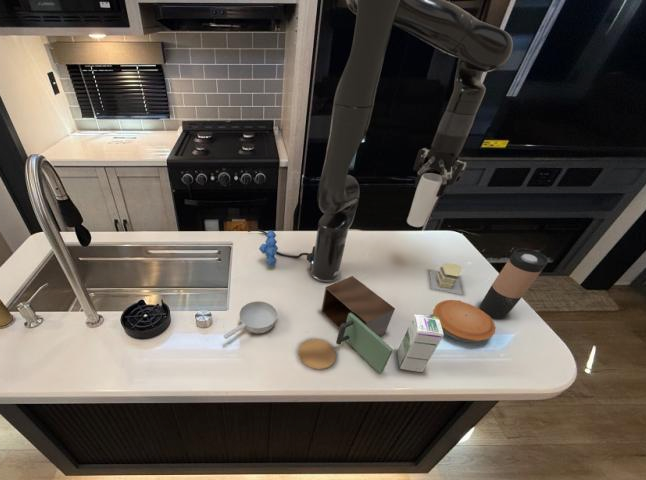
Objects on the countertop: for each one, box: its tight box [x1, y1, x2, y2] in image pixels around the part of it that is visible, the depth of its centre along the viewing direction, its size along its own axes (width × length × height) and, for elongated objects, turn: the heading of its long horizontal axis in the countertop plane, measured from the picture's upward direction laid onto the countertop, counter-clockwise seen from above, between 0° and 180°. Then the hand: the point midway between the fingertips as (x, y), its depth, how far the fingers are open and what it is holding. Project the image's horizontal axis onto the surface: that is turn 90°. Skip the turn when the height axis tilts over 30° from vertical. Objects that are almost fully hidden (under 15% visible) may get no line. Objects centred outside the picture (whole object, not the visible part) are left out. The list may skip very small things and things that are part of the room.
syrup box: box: [396, 313, 445, 373], centre depth 76 cm, size 6×6×14 cm
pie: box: [432, 299, 496, 343], centre depth 88 cm, size 15×16×5 cm
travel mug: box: [478, 248, 549, 320], centre depth 88 cm, size 8×8×20 cm
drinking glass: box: [406, 172, 442, 228], centre depth 96 cm, size 7×7×15 cm
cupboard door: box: [335, 313, 394, 375], centre depth 79 cm, size 14×5×9 cm, turn 30°
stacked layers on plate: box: [429, 263, 463, 295], centre depth 103 cm, size 10×9×6 cm
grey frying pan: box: [223, 300, 278, 339], centre depth 89 cm, size 11×18×4 cm, turn 134°
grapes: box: [258, 229, 279, 268], centre depth 110 cm, size 12×7×12 cm, turn 2°
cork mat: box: [298, 339, 337, 370], centre depth 83 cm, size 10×10×1 cm
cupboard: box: [320, 275, 396, 338], centre depth 88 cm, size 16×10×10 cm, turn 30°
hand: (428, 191), depth 94 cm, fingers closed on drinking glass, 7 cm apart
